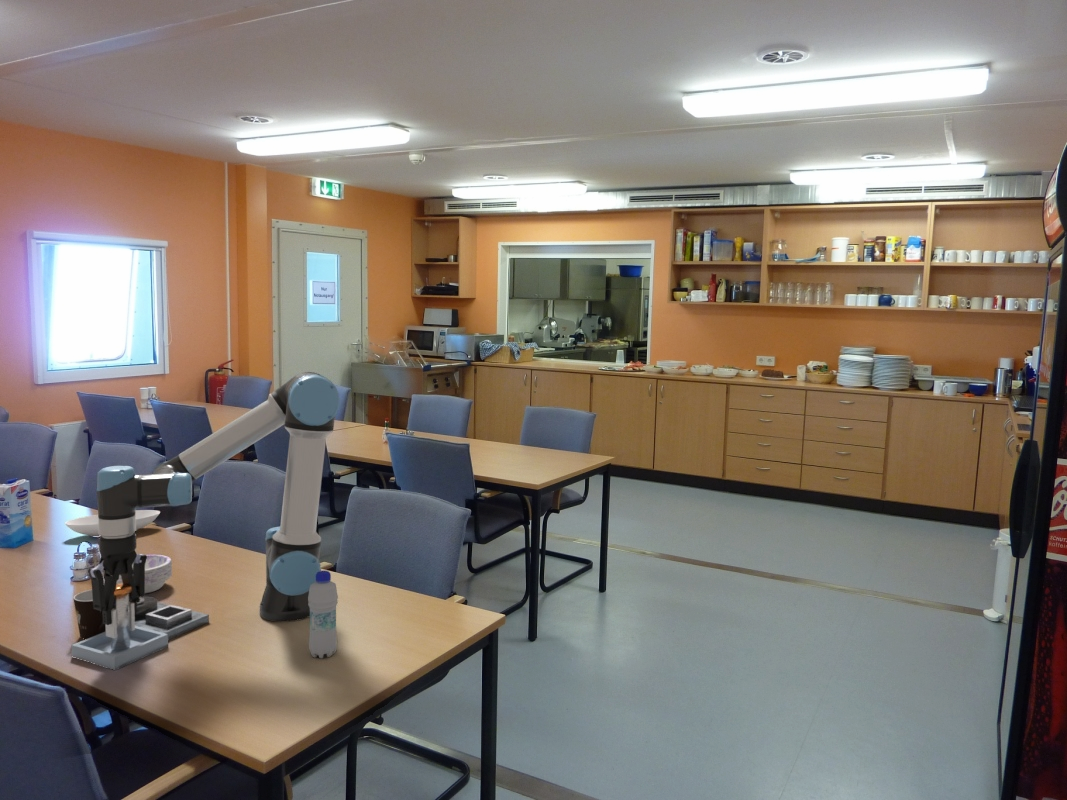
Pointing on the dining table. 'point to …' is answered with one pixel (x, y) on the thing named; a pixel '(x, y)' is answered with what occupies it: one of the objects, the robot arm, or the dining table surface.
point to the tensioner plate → (167, 617)
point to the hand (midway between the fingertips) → (120, 632)
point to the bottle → (322, 615)
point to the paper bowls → (155, 572)
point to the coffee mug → (88, 615)
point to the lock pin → (122, 617)
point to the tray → (103, 655)
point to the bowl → (90, 523)
